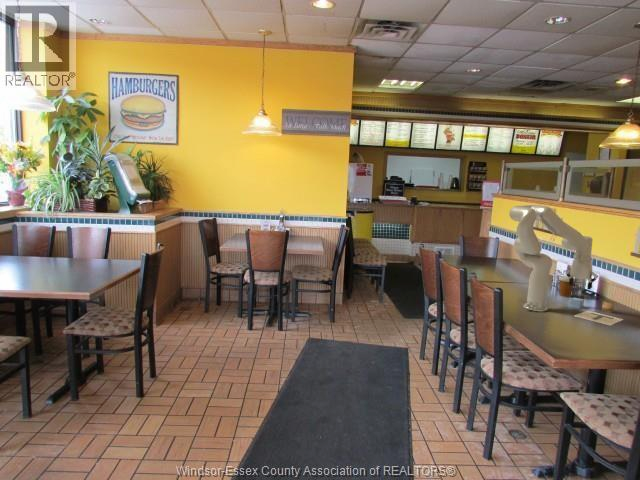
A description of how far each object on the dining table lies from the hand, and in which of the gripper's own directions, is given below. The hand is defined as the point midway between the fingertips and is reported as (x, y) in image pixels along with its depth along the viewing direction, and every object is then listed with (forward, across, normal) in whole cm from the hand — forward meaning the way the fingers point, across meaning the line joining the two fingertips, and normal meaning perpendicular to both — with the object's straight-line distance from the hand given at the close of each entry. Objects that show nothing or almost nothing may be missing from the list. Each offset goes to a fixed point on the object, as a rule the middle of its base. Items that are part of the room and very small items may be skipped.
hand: (580, 287), depth 259 cm
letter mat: (+12, +16, -13) cm, 23 cm away
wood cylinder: (+12, +13, +5) cm, 19 cm away
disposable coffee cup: (+13, -16, +21) cm, 30 cm away
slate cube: (+12, 0, -1) cm, 12 cm away
